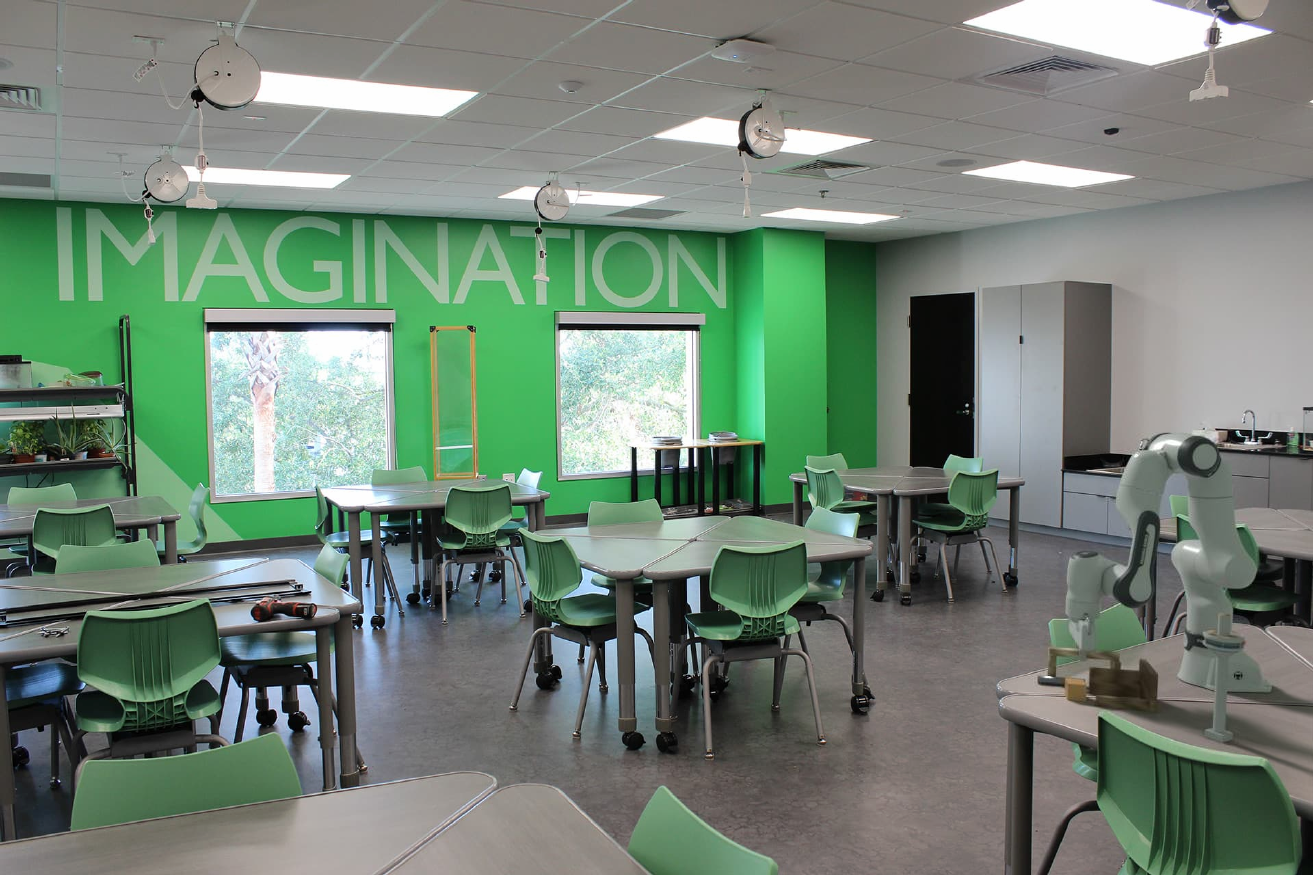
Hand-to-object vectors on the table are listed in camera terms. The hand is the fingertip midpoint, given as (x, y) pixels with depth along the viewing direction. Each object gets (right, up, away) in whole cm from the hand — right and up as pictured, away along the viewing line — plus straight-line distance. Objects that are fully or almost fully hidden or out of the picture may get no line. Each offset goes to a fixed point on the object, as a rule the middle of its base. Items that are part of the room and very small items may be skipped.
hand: (1081, 658), depth 263 cm
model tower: (+16, -10, -37) cm, 42 cm away
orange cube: (-6, -8, -10) cm, 14 cm away
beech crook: (+1, -6, 0) cm, 6 cm away
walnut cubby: (+5, -8, -13) cm, 16 cm away
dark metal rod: (-6, -5, 0) cm, 8 cm away
